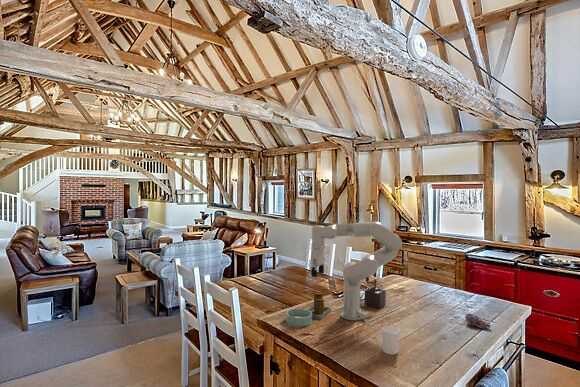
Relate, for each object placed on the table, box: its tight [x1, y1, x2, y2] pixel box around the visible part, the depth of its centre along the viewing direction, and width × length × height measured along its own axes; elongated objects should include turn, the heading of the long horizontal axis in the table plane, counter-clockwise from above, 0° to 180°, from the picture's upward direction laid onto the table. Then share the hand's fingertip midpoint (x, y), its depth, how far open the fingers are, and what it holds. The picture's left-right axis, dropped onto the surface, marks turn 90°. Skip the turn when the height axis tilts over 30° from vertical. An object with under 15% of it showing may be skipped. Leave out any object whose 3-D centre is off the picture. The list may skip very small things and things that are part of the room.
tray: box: [306, 304, 332, 321], centre depth 193 cm, size 11×15×2 cm
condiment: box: [311, 291, 325, 315], centre depth 193 cm, size 7×8×12 cm
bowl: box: [285, 307, 313, 327], centre depth 181 cm, size 14×14×4 cm
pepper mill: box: [363, 276, 387, 309], centre depth 210 cm, size 16×11×18 cm
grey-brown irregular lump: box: [465, 312, 491, 330], centre depth 176 cm, size 12×8×6 cm, turn 39°
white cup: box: [381, 325, 400, 355], centre depth 148 cm, size 8×8×10 cm
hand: (317, 274), depth 193 cm, fingers open, 9 cm apart
